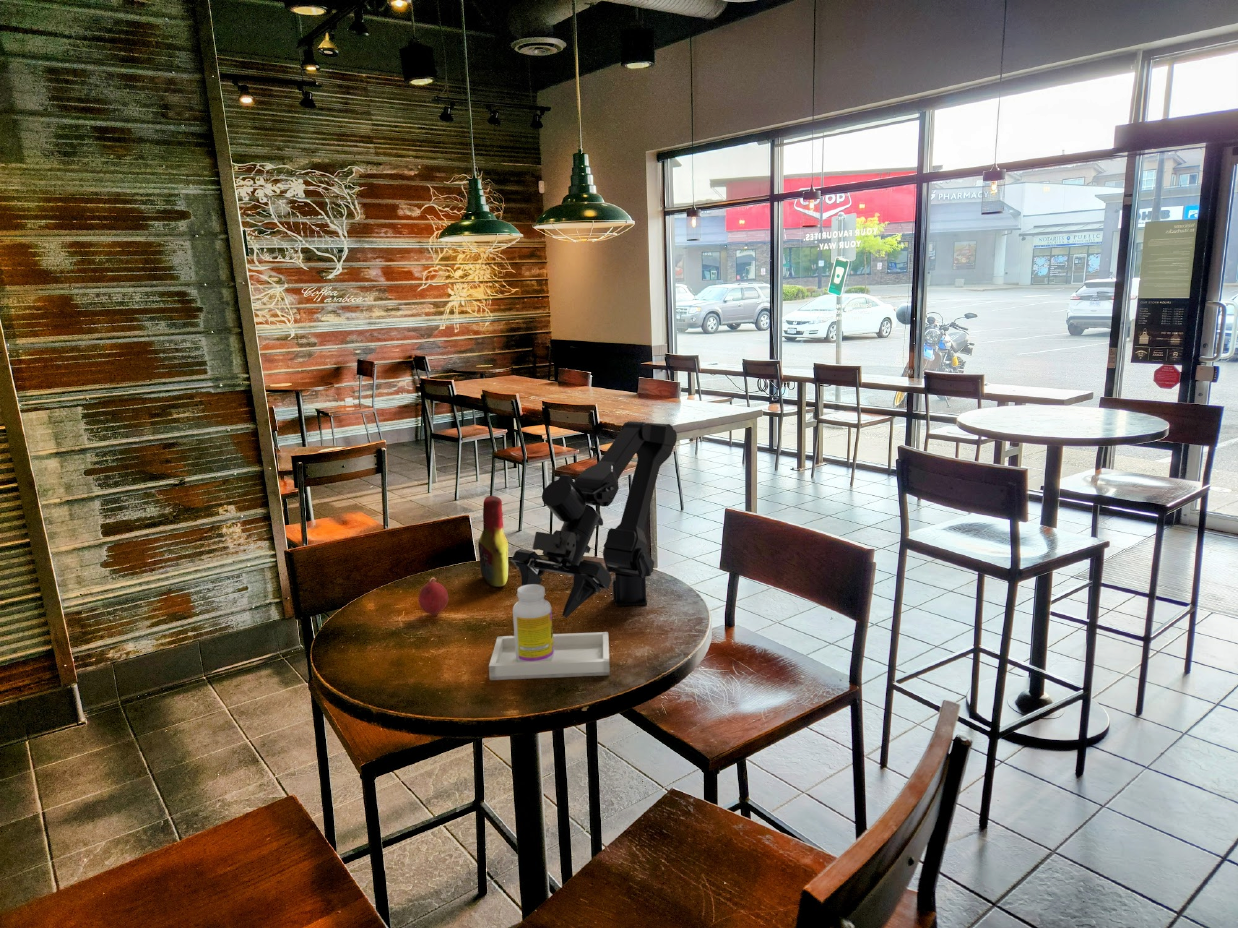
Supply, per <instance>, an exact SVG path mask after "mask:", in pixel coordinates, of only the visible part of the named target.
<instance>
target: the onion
mask: <svg viewBox="0 0 1238 928" xmlns="http://www.w3.org/2000/svg"><path fill="white" fill-rule="evenodd" d="M448 593H449V592H448V591H447V588H445V586H443V585H442V584H441V583H439V582H437V579H436V578H435V577H431V578H430V579H429V581H428V582H427V583H426V584H425V585H423V587H422V588H421V589H420V591H419V595H418V605H419V606H420V608H421V609H422V611H424V612H425V613H427V614H428V615H432V617H433V616H435V617H436V616H438V615H439V614H440V613H441V612H442V611H443V610H444V609H445V608H446V607H447V605H448V602H449V594H448Z"/></svg>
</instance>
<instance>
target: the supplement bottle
mask: <svg viewBox="0 0 1238 928" xmlns="http://www.w3.org/2000/svg"><path fill="white" fill-rule="evenodd" d="M545 588H546V587H544V585H542V584H540V585H537V584H530V585H524V586H522V585H521V586H519V587H518V588H517V591H516V592H517V593H516V595H517V599H518V601H517V602H516V603H515V604H514V605H513V606H512V619H513V622H512V623H513V636H514V638H515V654H516V660H517V661H518V662H538V661H550V660H551V659H552V658H553V656H554V646H553V634H554V631H553V615H552V614H553V613H552V605H551V603H550V601H548V600H547V599H545V595H546V589H545Z"/></svg>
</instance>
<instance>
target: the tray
mask: <svg viewBox="0 0 1238 928" xmlns="http://www.w3.org/2000/svg"><path fill="white" fill-rule="evenodd" d="M609 640H610V639H609V632H608V631H603V632H602V631H600V632H598V631H597V632H575V633H574V632H573V633H553V646H554V656H553V658H552V659H551V660H550V661H538V662H518V661H517V660H516V654H515V638H514V635H504V636H503V635H502V636H497V638H496V640H495V645H494V649H493V651H492V654H491V658H490V660H489V664H488V673H489V681H501V680H505V681H506V680H522V679H523V680H527V679H545V678H546V679H548V678H550V679H551V678H552V679H553V678H572V677H573V678H574V677H575V678H576V677H597V676H599V677H601V676H610V674H611V672H610V644H609V642H610V641H609Z"/></svg>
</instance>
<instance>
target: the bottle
mask: <svg viewBox="0 0 1238 928" xmlns="http://www.w3.org/2000/svg"><path fill="white" fill-rule="evenodd" d="M482 507H483V508H482V509H483V510H482V519H483V521H482V522H483V523H482V524H483V526H482V527H483V529H482V532H481V534H480V537H479V540H478V542H477V544H478V546H477V547H478V555H479V562H480V563H479V565H480V573H481V576H482V578H483V579H484V580H485V582H486V583H487V584H488V585H490V586H492V587H498V588H499V587H504V586H505V585H506V584H507V581H508V578H509V577H508V576H509V542H508V539H507V538H506V535H505V531H504V520H503V519H504V516H503V514H504V513H503V501H502V499H501V498H500V497H498V496H496V495H489V496H488V495H487V497H485V498H484V500H483V506H482Z"/></svg>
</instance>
